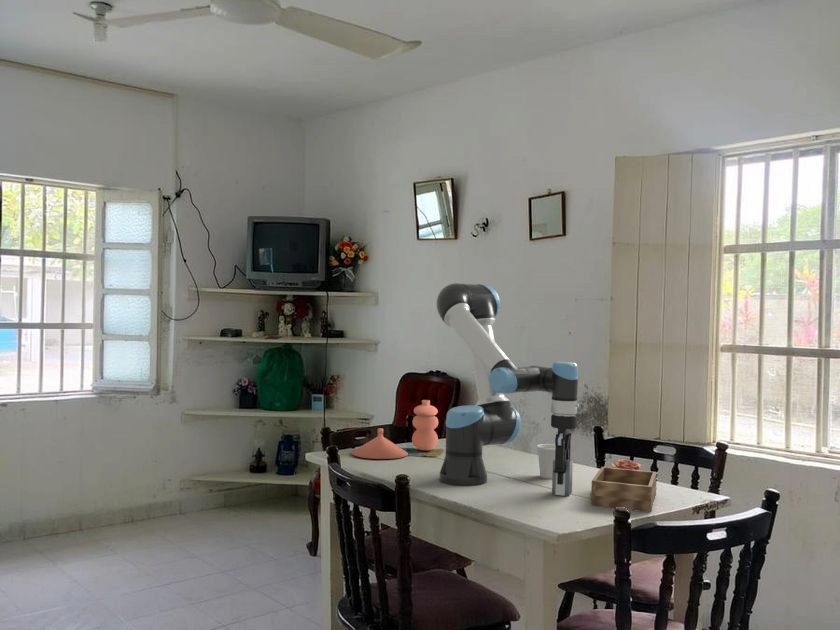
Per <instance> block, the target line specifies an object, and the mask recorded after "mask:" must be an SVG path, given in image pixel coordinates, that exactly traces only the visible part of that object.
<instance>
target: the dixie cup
mask: <svg viewBox="0 0 840 630" xmlns="http://www.w3.org/2000/svg"><path fill="white" fill-rule="evenodd" d="M536 447H537V455H538V456H537V457H538V465H539V466H538V468H539V477H540V478H542V479H549V480H552V473H553V460H554V459H555V444H554V443H541V444H537V445H536Z"/></svg>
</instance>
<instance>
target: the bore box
mask: <svg viewBox="0 0 840 630" xmlns="http://www.w3.org/2000/svg"><path fill="white" fill-rule="evenodd" d="M657 474H658V473H657V471H647V470H641V471H640V470H630V469H620V468H612V467H610V466H609V467H608V466H601V467H600V469H599V470H598V471H597V473H596V474H595V475H594V477H593V478H592V479H591V488H590V489H591V492H590V493H591V494H590V495H591V498H590V506H591V507H601V508H608V507H610V508H609V509H617V508H616V507H625V508H627V509H631V510H630V511H636V510H638V511H639V512H646V511H648V512H647V513H649V512H650V513H651V512H652V511H653V507H654V504H655V500H656V497H655V496H657V478H658V477H657ZM653 503H654V504H653ZM627 509H626V510H627ZM651 510H652V511H651Z"/></svg>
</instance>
